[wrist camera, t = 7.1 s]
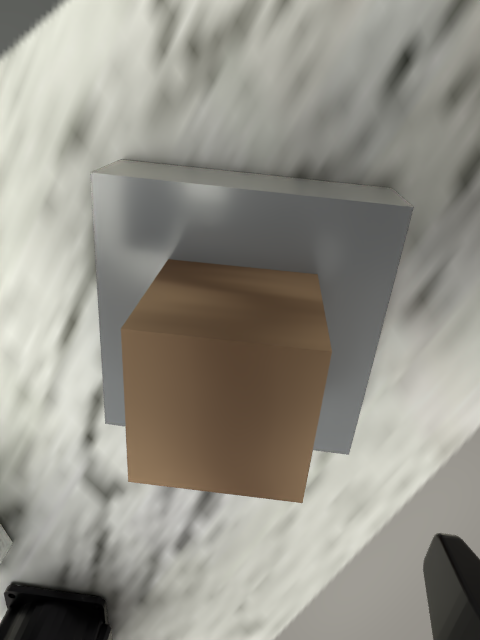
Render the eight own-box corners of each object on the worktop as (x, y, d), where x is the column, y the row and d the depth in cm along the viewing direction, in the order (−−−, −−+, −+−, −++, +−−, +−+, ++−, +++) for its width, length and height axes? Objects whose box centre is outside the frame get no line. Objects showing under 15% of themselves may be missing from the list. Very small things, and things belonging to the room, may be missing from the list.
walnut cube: (167, 382, 18) (128, 481, 13) (168, 259, 15) (120, 328, 11) (297, 397, 17) (302, 503, 13) (317, 274, 15) (331, 351, 11)
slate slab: (127, 382, 21) (105, 423, 19) (120, 159, 17) (90, 172, 14) (340, 408, 21) (348, 454, 18) (392, 188, 16) (413, 207, 14)
